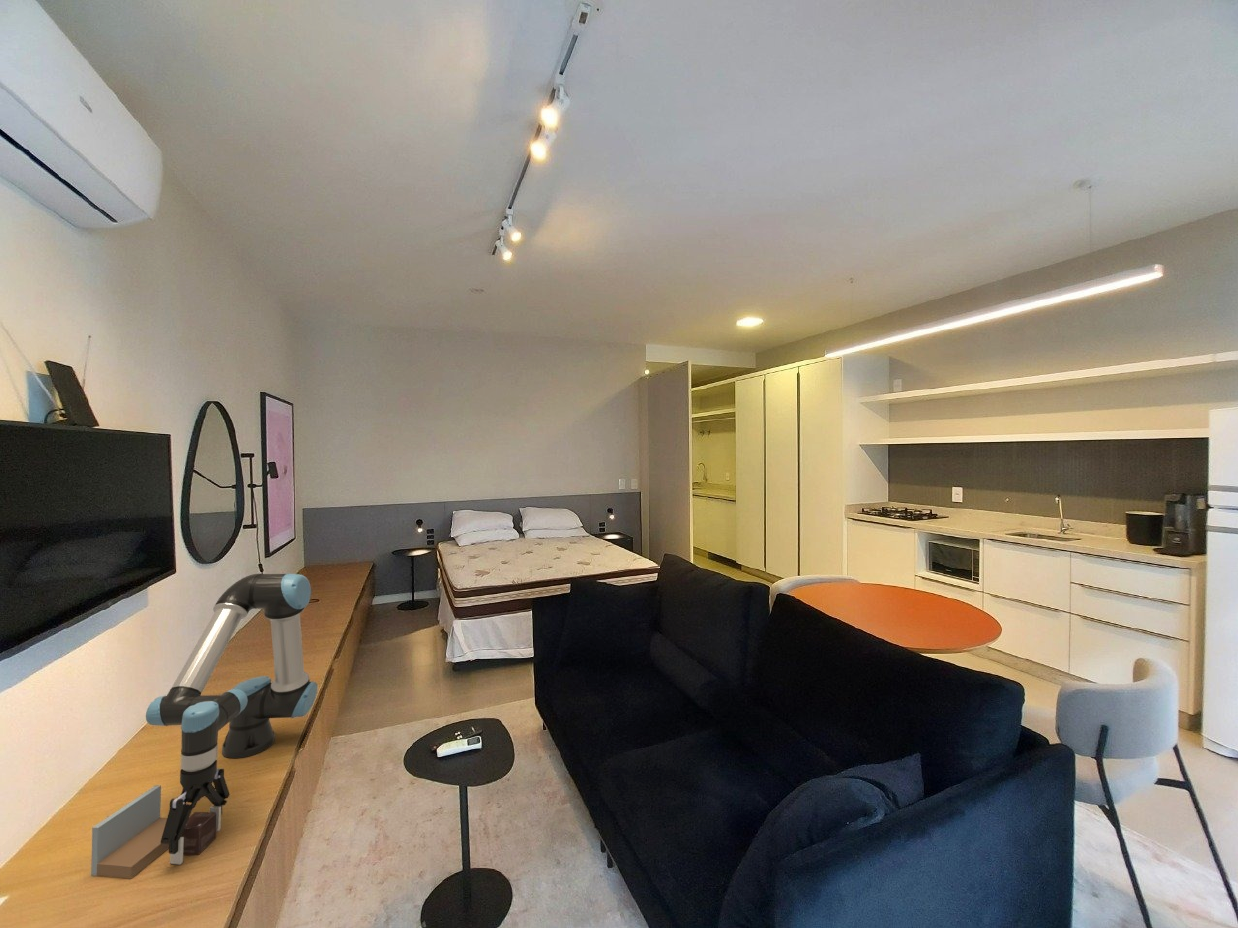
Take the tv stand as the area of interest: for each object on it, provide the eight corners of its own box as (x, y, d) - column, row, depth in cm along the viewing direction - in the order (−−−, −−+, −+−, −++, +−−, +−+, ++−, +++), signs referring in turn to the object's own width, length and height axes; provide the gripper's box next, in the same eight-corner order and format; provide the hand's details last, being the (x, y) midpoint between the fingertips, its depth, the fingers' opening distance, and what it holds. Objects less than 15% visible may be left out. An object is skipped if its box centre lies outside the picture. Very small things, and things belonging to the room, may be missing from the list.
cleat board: (154, 827, 139) (156, 785, 139) (190, 830, 138) (191, 788, 138) (91, 875, 123) (92, 827, 123) (131, 879, 122) (132, 830, 122)
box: (216, 838, 136) (217, 811, 136) (198, 856, 130) (199, 828, 130) (194, 838, 136) (194, 811, 136) (175, 855, 130) (175, 828, 130)
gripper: (222, 738, 145) (220, 814, 145) (142, 791, 121) (139, 881, 122) (247, 740, 144) (244, 816, 144) (171, 794, 121) (168, 883, 121)
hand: (196, 845), depth 133 cm, fingers open, 11 cm apart
